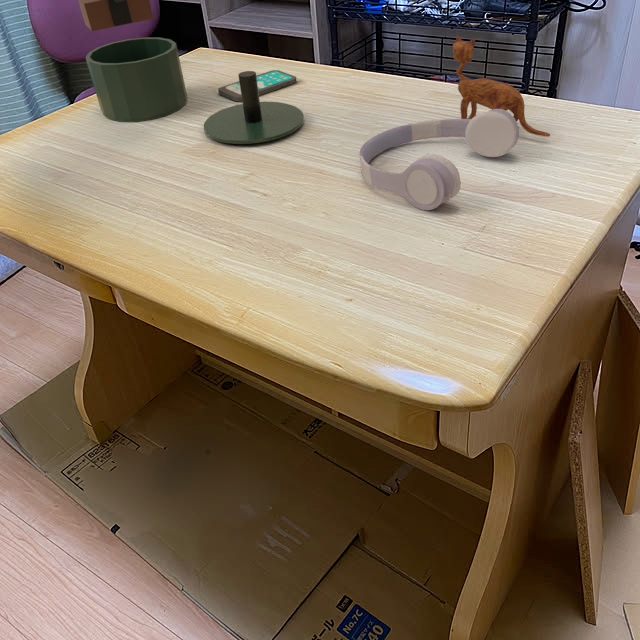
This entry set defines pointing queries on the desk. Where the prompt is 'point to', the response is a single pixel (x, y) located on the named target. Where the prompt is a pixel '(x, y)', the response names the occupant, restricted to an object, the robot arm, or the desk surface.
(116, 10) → the robot arm
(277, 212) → the desk surface
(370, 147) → the headphones
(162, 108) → the trash tin
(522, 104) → the cat figurine
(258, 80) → the smartphone
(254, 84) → the tin lid
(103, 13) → the chocolate bar
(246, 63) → the desk surface
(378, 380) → the desk surface
